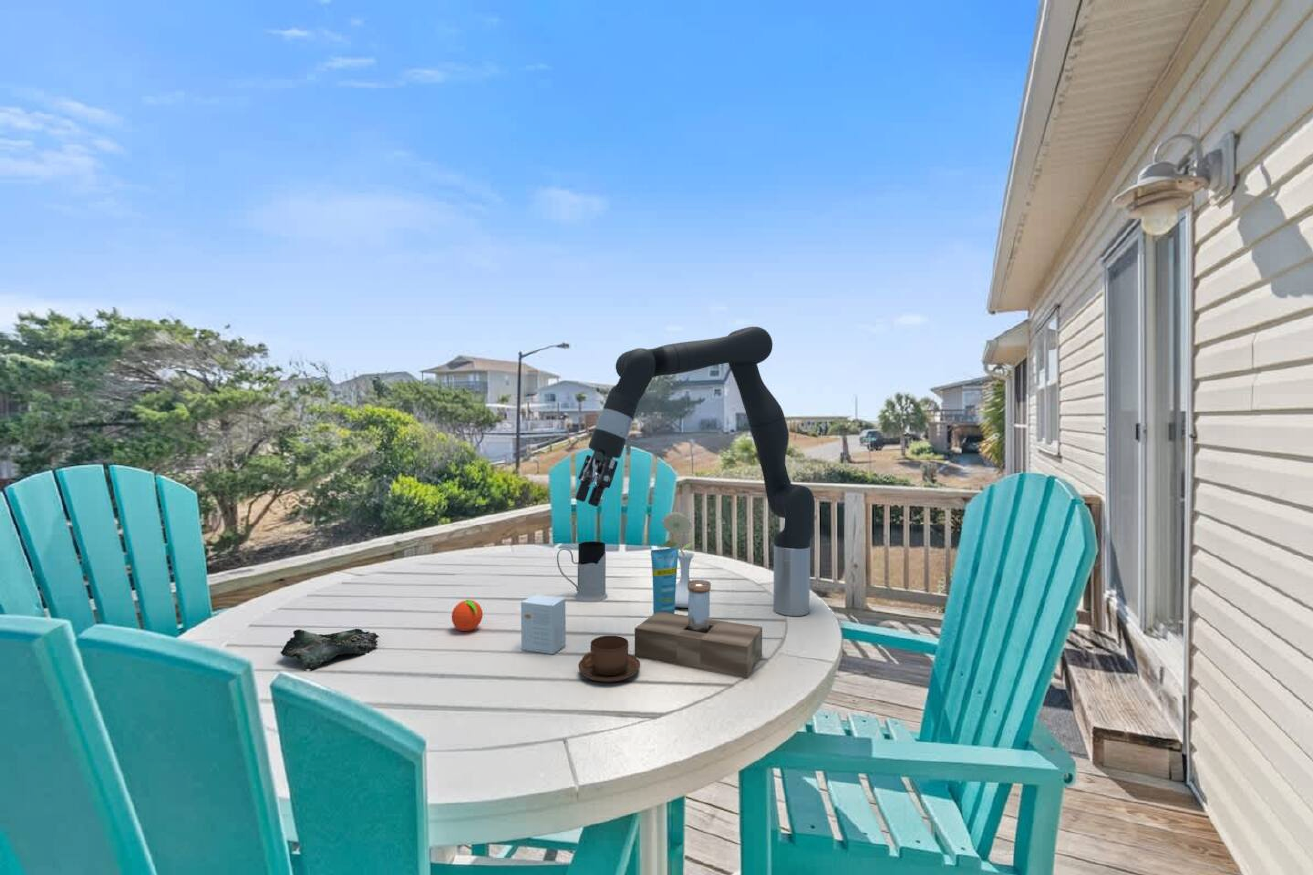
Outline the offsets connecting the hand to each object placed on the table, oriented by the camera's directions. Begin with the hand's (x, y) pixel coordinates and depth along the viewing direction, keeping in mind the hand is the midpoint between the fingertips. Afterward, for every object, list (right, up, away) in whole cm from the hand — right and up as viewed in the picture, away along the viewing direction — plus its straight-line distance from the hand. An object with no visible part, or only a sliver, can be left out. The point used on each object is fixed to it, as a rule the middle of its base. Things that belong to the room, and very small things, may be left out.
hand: (585, 502), depth 123 cm
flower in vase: (+22, -31, +30) cm, 49 cm away
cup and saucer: (+6, -32, -13) cm, 35 cm away
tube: (+17, -32, +12) cm, 38 cm away
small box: (-9, -32, 0) cm, 33 cm away
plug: (+24, -30, -4) cm, 39 cm away
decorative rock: (-53, -32, -3) cm, 62 cm away
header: (+24, -32, -4) cm, 40 cm away
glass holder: (-6, -31, +36) cm, 48 cm away
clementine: (-29, -31, +9) cm, 44 cm away
